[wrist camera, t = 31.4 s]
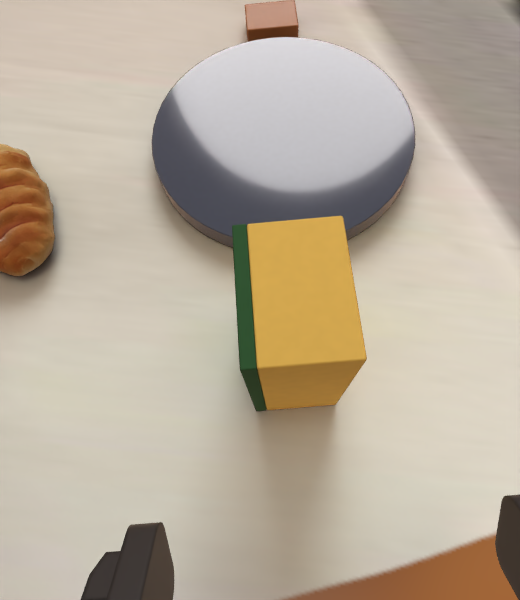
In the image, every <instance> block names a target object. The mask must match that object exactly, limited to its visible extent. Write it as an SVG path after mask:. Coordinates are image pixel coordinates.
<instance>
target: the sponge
mask: <svg viewBox="0 0 520 600" xmlns="http://www.w3.org/2000/svg"><path fill="white" fill-rule="evenodd" d="M232 237H233V254H234V272H235V290H236V308H237V326H238V344H239V362H240V371H241V373H242V376H243V378H244V381H245V383H246V386H247V388H248V391H249V394H250V396H251V399H252V401H253V404H254V406H255V409H256V411H264V410H266V409H267V410H276V409H288V408H301V407H313V406H325V405H335V404H336V403H337V402H338V400H339V399H340V397H341V396H342V395H343V393H344V392H345V390H346V389H347V387H348V386H349V384H350V383H351V381H352V380H353V379H354V377H355V376H356V374H357V373H358V371H359V370H360V368H361V367H362V365H363V364H364V363H365V361H366V359H367V357H366V351H365V345H364V339H363V333H362V327H361V321H360V315H359V309H358V303H357V297H356V291H355V285H354V279H353V273H352V267H351V261H350V255H349V249H348V244H347V238H346V232H345V226H344V220H343V217H342V216H333V217H321V218H310V219H299V220H287V221H276V222H265V223H254V224H248V225H246V224H240V225H233V226H232Z"/></svg>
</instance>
